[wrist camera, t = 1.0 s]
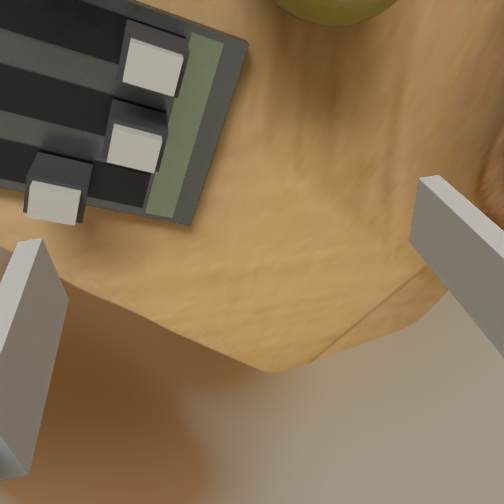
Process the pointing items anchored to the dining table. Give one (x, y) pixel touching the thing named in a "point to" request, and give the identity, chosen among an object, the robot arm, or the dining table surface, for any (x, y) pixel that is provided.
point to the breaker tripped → (57, 189)
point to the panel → (109, 99)
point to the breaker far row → (152, 59)
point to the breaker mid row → (135, 137)
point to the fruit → (334, 10)
